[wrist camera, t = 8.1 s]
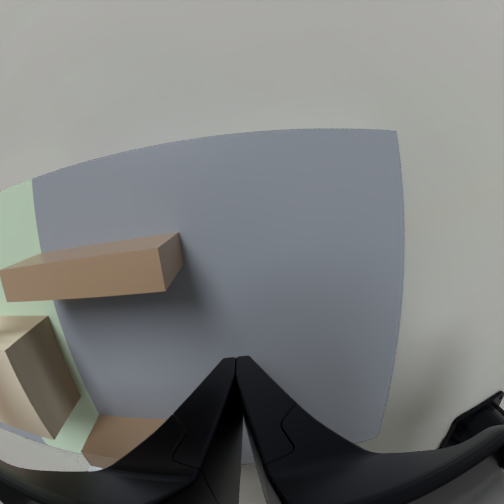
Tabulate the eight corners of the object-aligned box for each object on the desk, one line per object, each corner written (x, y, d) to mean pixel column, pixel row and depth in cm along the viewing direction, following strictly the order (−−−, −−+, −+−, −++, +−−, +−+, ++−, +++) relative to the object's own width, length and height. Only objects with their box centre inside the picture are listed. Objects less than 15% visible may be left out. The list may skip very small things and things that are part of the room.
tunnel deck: (371, 139, 10) (440, 117, 6) (364, 413, 13) (395, 469, 9) (-63, 228, 9) (-107, 241, 5) (-1, 408, 12) (-27, 440, 8)
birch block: (48, 315, 9) (4, 350, 6) (81, 396, 10) (54, 440, 7) (-6, 315, 9) (-45, 341, 6) (24, 387, 9) (-4, 420, 6)
